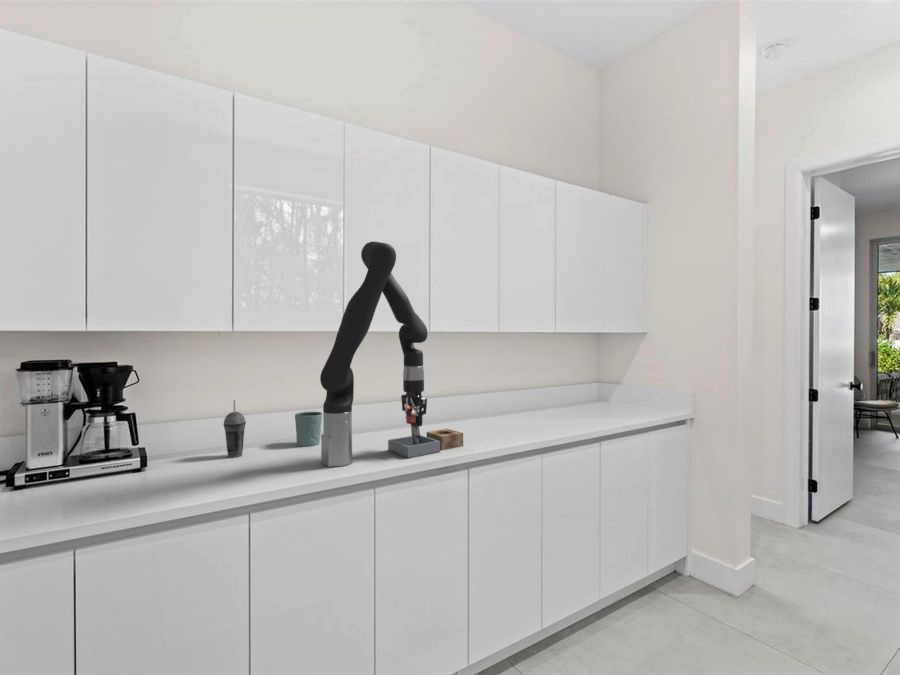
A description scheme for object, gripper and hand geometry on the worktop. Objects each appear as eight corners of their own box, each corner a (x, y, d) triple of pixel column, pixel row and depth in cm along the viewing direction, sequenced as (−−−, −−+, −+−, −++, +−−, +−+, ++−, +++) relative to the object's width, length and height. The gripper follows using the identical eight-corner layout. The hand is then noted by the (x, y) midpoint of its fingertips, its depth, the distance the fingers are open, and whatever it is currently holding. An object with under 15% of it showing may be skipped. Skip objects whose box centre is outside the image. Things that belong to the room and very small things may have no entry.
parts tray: (408, 458, 160) (407, 446, 160) (388, 450, 171) (388, 439, 171) (440, 452, 169) (439, 441, 169) (419, 445, 180) (419, 434, 179)
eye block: (442, 450, 171) (441, 436, 171) (426, 445, 179) (426, 432, 179) (463, 446, 178) (463, 432, 177) (447, 441, 185) (447, 428, 185)
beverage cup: (246, 452, 170) (246, 397, 169) (245, 457, 163) (245, 400, 163) (224, 454, 167) (224, 398, 167) (222, 459, 160) (222, 401, 160)
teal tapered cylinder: (290, 444, 182) (290, 413, 182) (314, 439, 189) (313, 410, 189) (303, 448, 175) (302, 416, 175) (327, 444, 182) (327, 413, 182)
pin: (428, 442, 169) (425, 411, 169) (413, 446, 166) (410, 415, 165) (419, 440, 174) (416, 410, 174) (405, 444, 171) (402, 413, 170)
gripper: (433, 379, 166) (433, 426, 166) (411, 376, 178) (412, 420, 178) (415, 380, 162) (416, 429, 162) (394, 377, 173) (395, 423, 173)
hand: (414, 424), depth 170 cm, fingers closed on pin, 6 cm apart
